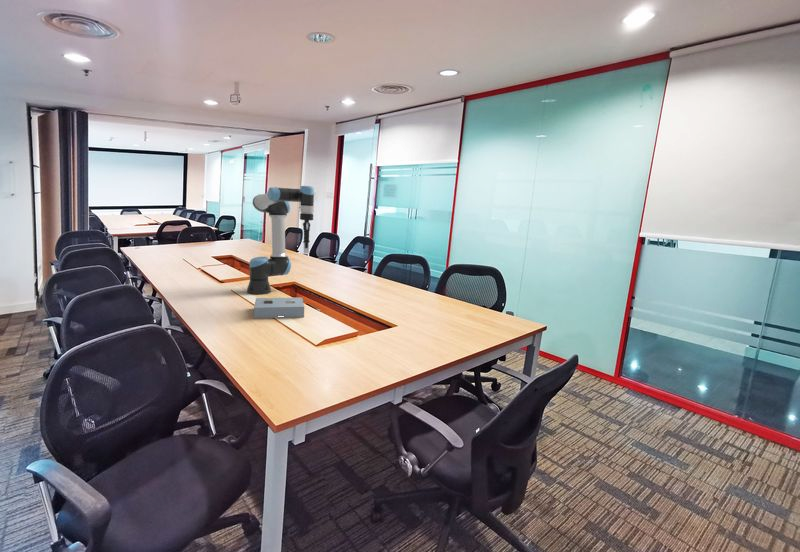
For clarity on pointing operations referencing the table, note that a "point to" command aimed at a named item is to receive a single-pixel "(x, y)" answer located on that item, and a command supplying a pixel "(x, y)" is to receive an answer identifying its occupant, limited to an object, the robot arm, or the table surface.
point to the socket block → (278, 308)
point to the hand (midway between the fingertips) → (306, 253)
